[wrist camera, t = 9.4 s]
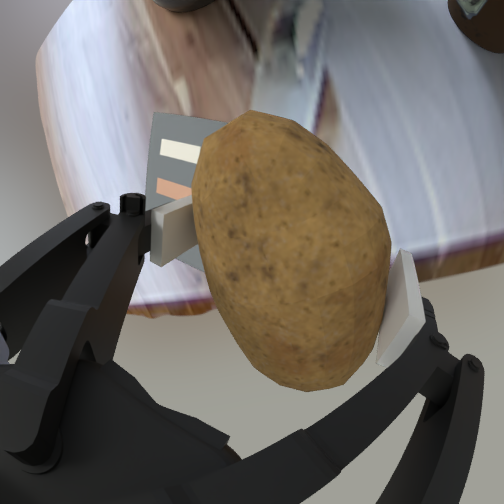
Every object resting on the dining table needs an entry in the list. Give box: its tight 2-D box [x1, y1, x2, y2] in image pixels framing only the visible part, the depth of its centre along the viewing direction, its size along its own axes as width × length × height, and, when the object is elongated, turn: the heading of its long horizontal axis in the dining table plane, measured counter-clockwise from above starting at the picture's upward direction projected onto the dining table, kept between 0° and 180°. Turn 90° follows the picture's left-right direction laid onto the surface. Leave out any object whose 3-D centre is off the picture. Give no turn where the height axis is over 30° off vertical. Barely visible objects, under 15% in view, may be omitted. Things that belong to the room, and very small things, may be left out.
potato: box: [191, 110, 391, 392], centre depth 14 cm, size 10×14×8 cm
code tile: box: [145, 112, 228, 272], centre depth 38 cm, size 22×18×1 cm
